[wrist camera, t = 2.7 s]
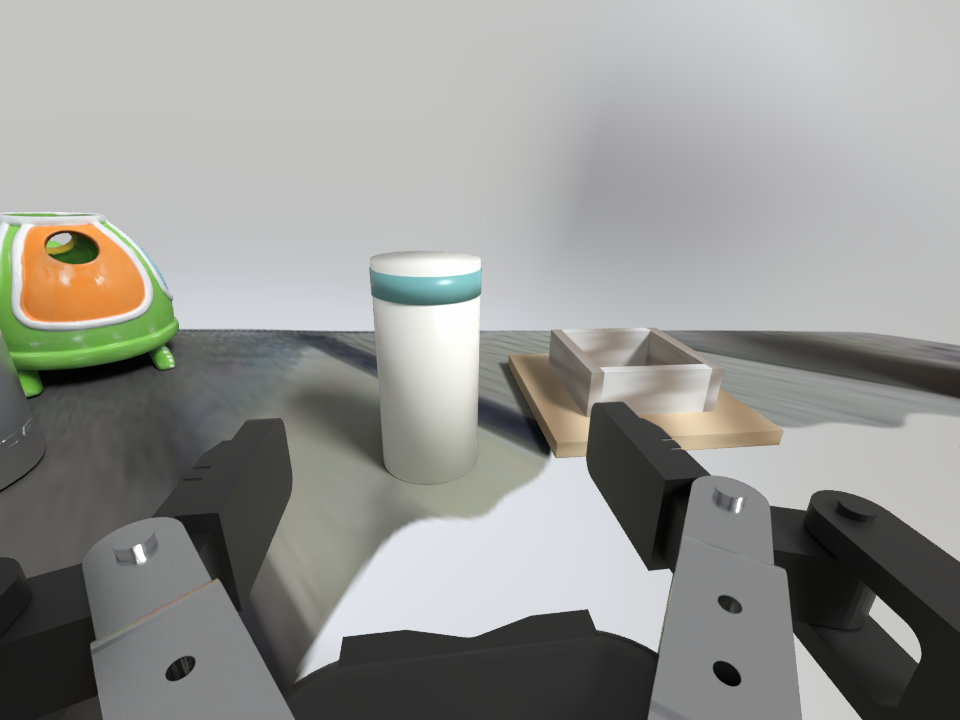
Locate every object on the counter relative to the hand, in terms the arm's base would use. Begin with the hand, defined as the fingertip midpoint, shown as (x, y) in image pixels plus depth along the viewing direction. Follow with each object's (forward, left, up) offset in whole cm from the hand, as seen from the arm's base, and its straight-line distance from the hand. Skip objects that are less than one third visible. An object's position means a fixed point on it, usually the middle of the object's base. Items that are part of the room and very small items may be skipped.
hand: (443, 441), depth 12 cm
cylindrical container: (0, +11, -8) cm, 14 cm away
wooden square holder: (+14, +17, -8) cm, 24 cm away
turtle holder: (-28, +28, -8) cm, 41 cm away
